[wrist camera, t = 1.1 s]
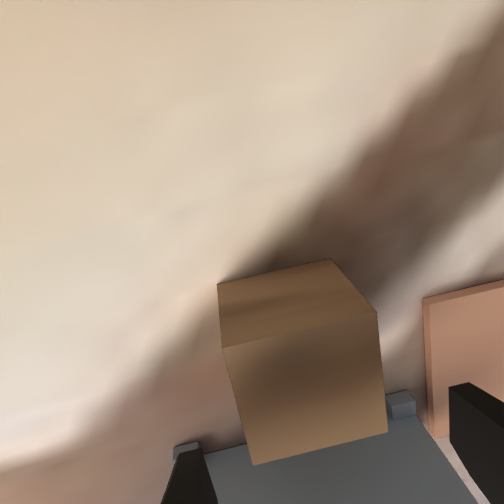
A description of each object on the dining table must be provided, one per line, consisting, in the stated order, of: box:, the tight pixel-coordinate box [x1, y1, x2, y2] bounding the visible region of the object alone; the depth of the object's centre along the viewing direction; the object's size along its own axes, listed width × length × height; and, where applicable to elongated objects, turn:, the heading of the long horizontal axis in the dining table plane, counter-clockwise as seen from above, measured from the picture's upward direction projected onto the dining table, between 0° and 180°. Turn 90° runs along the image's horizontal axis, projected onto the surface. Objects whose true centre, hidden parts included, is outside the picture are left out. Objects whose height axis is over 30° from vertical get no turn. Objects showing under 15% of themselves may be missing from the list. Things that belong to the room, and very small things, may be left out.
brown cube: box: [217, 258, 388, 466], centre depth 16 cm, size 5×5×5 cm
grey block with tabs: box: [173, 390, 478, 504], centre depth 18 cm, size 3×12×6 cm, turn 101°
